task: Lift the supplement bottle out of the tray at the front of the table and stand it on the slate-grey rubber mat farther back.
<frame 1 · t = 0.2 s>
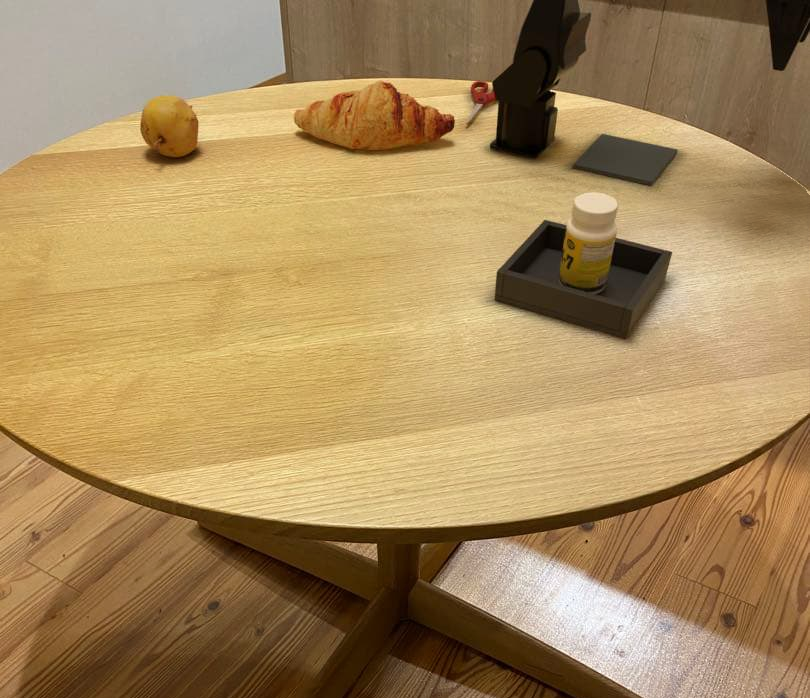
hand: (788, 55, 81), 15 cm above the table, tool pointing down, fingers open, 9 cm apart
mat: (625, 160, 98), on the table
fruit: (175, 154, 101), on the table
tray: (580, 289, 79), on the table
supplement bottle: (581, 286, 79), resting on tray
scissors: (479, 108, 109), on the table
croissant: (373, 139, 103), on the table
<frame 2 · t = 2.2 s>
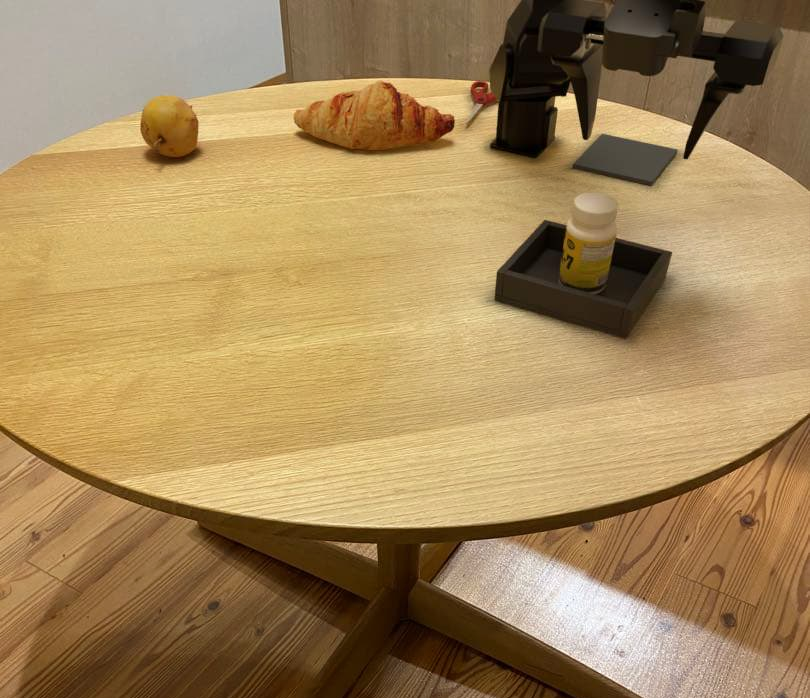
hand: (635, 148, 71), 13 cm above the table, tool pointing down, fingers open, 9 cm apart
nothing on the table moved.
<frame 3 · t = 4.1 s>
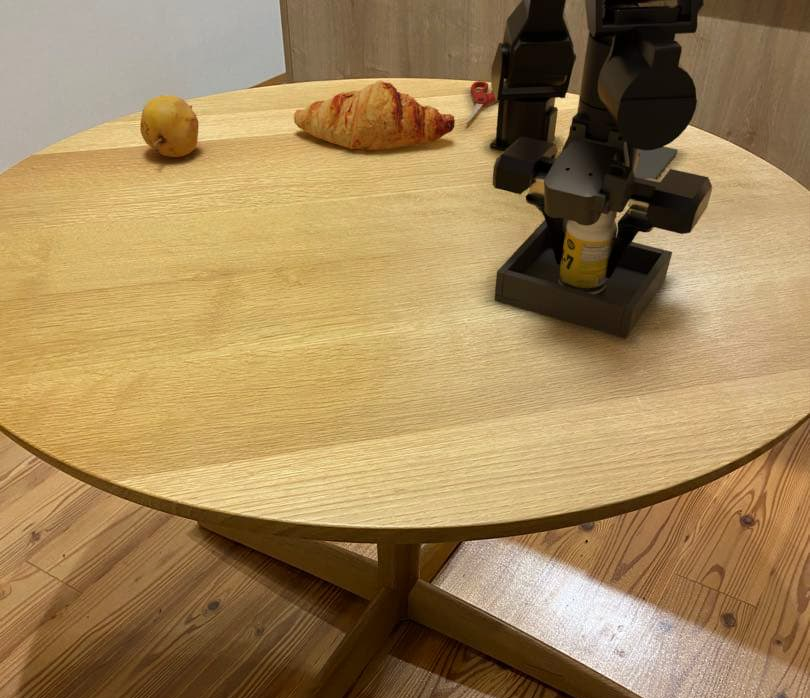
hand: (584, 269, 77), 2 cm above the table, tool pointing down, fingers closed on supplement bottle, 5 cm apart
supplement bottle: (581, 286, 79), resting on tray, touching gripper
everything else where it was.
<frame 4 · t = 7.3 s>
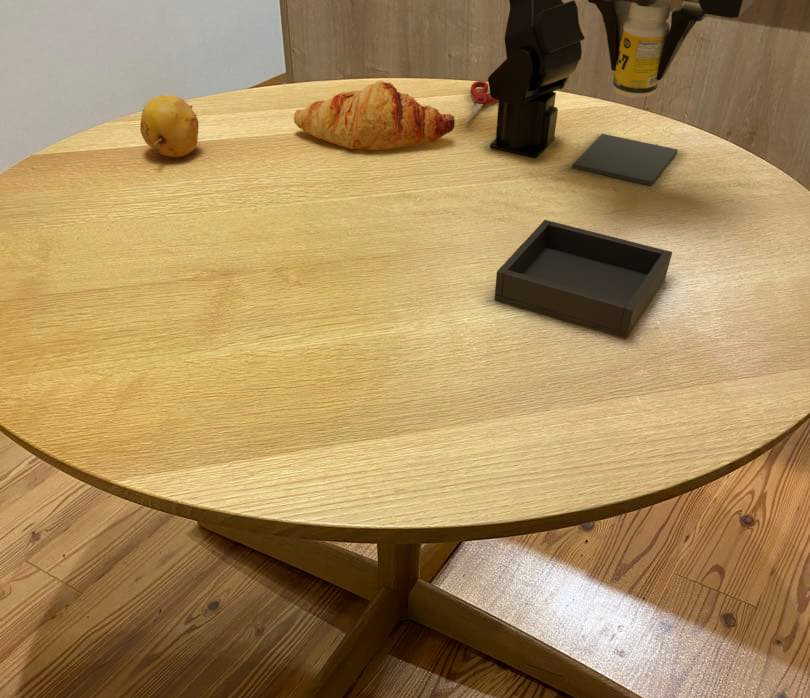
hand: (636, 74, 85), 12 cm above the table, tool pointing down, fingers closed on supplement bottle, 5 cm apart
supplement bottle: (633, 92, 86), point 10 cm above the table, touching gripper
everything else where it was.
when the fingers open (2 cm above the table, at t = 10.5 s): supplement bottle stays where it is, resting on mat.
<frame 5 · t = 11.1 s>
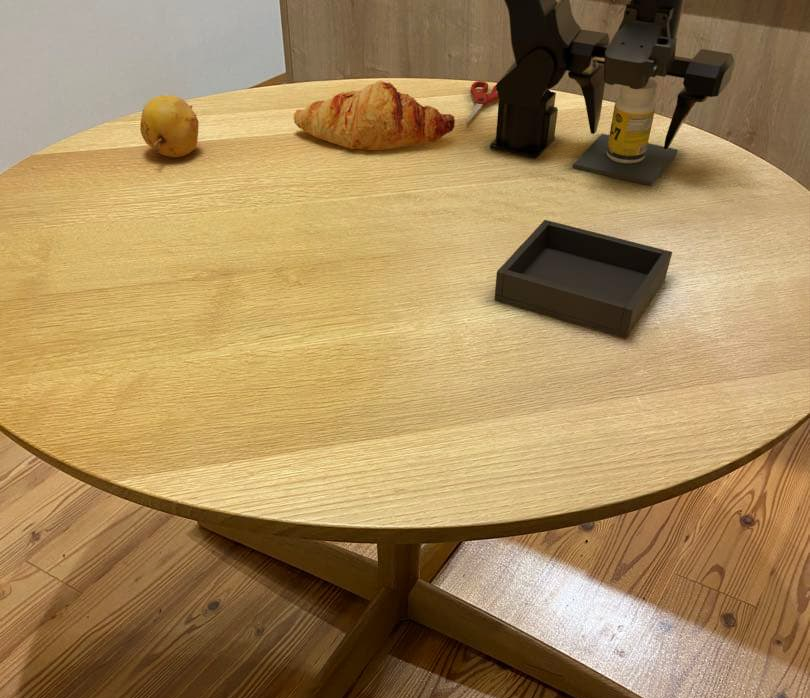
hand: (629, 140, 96), 2 cm above the table, tool pointing down, fingers open, 9 cm apart
supplement bottle: (624, 157, 98), resting on mat
everything else where it was.
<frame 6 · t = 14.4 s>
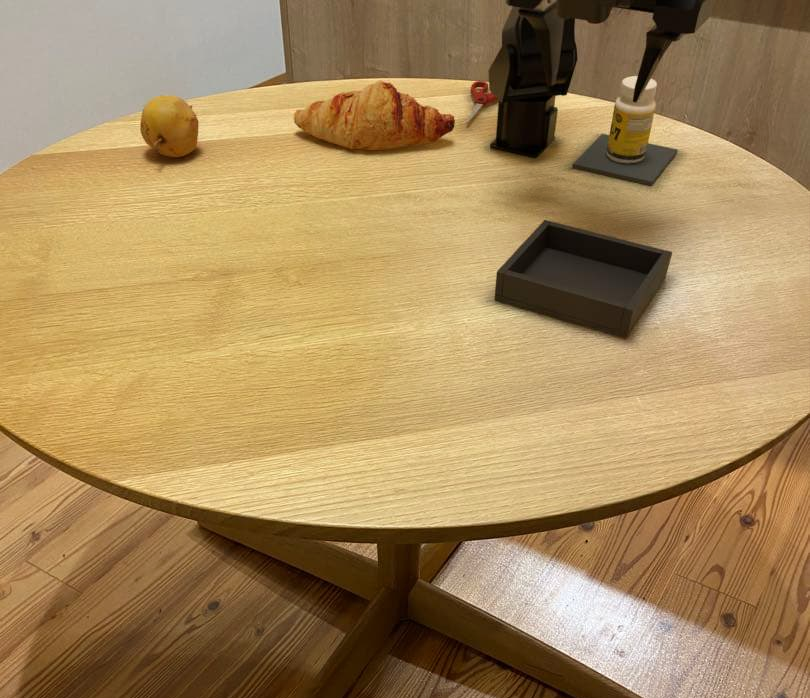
hand: (592, 92, 81), 12 cm above the table, tool pointing down, fingers open, 9 cm apart
nothing on the table moved.
at the end: supplement bottle inside the target area on the mat (0.1 cm from its centre), point 0.3 cm above the mat's base; supplement bottle tilted 0°; supplement bottle touching mat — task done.
